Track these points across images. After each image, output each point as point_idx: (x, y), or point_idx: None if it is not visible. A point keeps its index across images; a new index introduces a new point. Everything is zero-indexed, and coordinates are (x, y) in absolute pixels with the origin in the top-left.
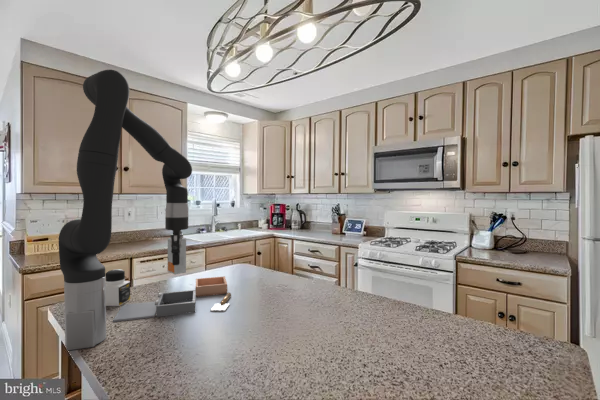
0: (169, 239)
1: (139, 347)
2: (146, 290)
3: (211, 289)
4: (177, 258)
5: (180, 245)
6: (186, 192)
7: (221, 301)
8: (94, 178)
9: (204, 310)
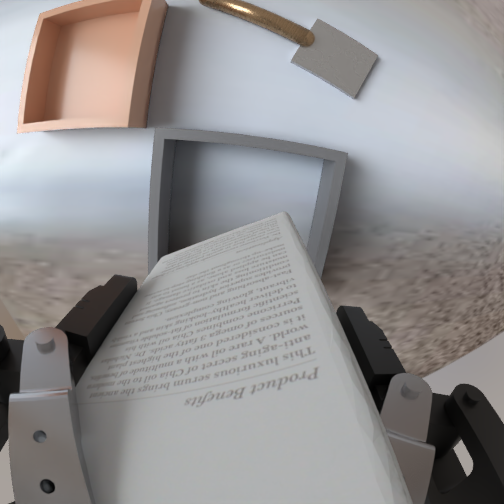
0: None
1: (456, 305)
2: (35, 297)
3: (146, 56)
4: (393, 357)
5: (428, 458)
6: None
7: (307, 39)
8: None
9: (329, 114)
